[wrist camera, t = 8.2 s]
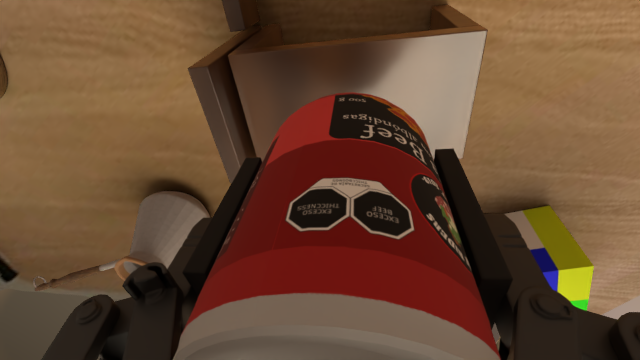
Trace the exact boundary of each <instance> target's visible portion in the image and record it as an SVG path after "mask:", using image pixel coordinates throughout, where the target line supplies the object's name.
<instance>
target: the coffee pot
mask: <svg viewBox="0 0 640 360" xmlns="http://www.w3.org/2000/svg"><path fill="white" fill-rule="evenodd" d="M202 218H210V215H209V213H208V212H207V210H206V209H205V207H204V206H203V204H202V203H201V202H200V201H199V200H198V199H196V198H194V197H193V196H191V195H189V194H186V193H182V192H174V191H162V192H157V193H154V194H151V195H150V196H148V197H146V198H145V199H144V200H143V201H142V202H141V204H140V206H139V211H138V216H137V221H136V226H135V231H134V236H133V241H132V246H131V251H130V255H128V256H126V257H124V258H122V259H119V260H116V261H113V262H110V263H107V264H104V265H100V266H96V267H92V268H88V269H85V270H81V271H77V272H74V273H70V274H68V275H66V276H64V277H62V278H60V279H52V280H51V281H50V282H49V283H47V282H46V280H45V279H44V278H43V277H41V276H37V277H39V278H41V279H43V281H44V282H45V283H43V284H41V285H39V286H36V284H35V279H36V278H37V277H35V278H34V279H33V284H34V287H35V291H44V290H46V289H47V288H49V287H52V288H56V287H57V286H58V285H60V284H66V283H71V282H75V281H77V280H80V279H83V278H85V277H88V276H91V275H93V274H96V273H99V272H101V271H103V270H106V269H110V268H113V267H115V271H116V273H117V274H118V275H119V276H120V277H121V278H122V279H123V280H124V281H125V280H126V278H127V277H128V276H129V275H130V274H131V273H132V272H133V271H135V270H136V269H137V268H139V267H140V266H143V265H145V264H147V263H152V262H159V263H162V264H163V265H164V266H166V268H167V269H168V267H169V265H170V264H171V262H172V261H173V259H174V257H175V256H176V254H177V252H178V251H179V249H180V247H182V244H183V242H184V241H185V239H186V238H187V236H188V234H189V233H190V231H191V229H192V228H193V226H194V225H195V224H197V223H198V222H199V221H200V220H201V219H202Z"/></svg>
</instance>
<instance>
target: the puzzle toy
mask: <svg viewBox="0 0 640 360" xmlns="http://www.w3.org/2000/svg"><path fill="white" fill-rule="evenodd" d="M505 215H506V216H507V217H508V218H509V219H511V220H512V221H513V222H514V223H515V224H516V226H517V228H518V230H519V231H520V233H521V235H522V238H524V240H525V242H526V244H527V248H529V249H530V251H531V253H532V255H533V256H534V258H535V260H536V262H537V264H538V265H539V267H540V269H541V271H542V273H543V274H544V276H545V278H546V280H547V282H548V283H549V285H550V286H551V288H552V289H553V290H555V291H557V292H559V293H560V294H562V295H563V296H564V297H566V298H567V299H568V300H569V301H570V302H571V303H572V305H573V306H575V307H577V308H580V309H583V310H586V311H587V305H588V299H589V292H590V286H591V280H592V274H593V268H594V266H593V264H592V263H591V262H590V260H589V259H588V257H587V256H586V255H585V253H584V252H583V251H582V249H581V248H580V246H579V245H578V244H577V242H576V241H575V240H574V238H573V237H572V235H571V234H570V233H569V231H568V230H567V229H566V227H565V226H564V224H563V223H562V222H561V220H560V219H559V218H558V216H557V215H556V213H555V212H554V211H553V209H552V208H551V207H550V205H549V206H544V207H538V208H533V209H527V210H522V211H517V212H511V213H506V214H505Z"/></svg>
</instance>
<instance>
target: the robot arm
mask: <svg viewBox="0 0 640 360" xmlns="http://www.w3.org/2000/svg"><path fill="white" fill-rule="evenodd" d="M6 87H7V75H6V70H5V67H4V64H3V61H2V59H1V57H0V98H1V97H2V96H3V95H4V93H5V91H6ZM434 163H435V166H436V169H437V172H438V175H439V178H440V181H441V184H442V186H443V189H444V192H445V195H446V198H447V201H448V204H449V207H450V210H451V212H452V215H453V218H454V221H455V224H456V227H457V230H458V233H459V236H460V238H461V241H462V244H463V247H464V250H465V253H466V256H467V259H468V262H469V264H470V267H471V270H472V273H473V276H474V279H475V282H476V285H477V288H478V290H479V293H480V296H481V299H482V302H483V305H484V308H485V311H486V314H487V316H488V319H489V322H490V326H491V330H492V328H493V325H494V323H496V326H497V329H498V332H499V335H500V337H499V339H498V341H497V343H496V346H497V349H498V352H499V355H500V358H501V360H640V312H629V313H626V314H624V315H622V316H621V317H620V318H619V319H618V320H617V319H613V318H609V317H606V316H603V315H599V314H596V313H592V312H589V311H586V310H583V309H580V308H577V307H575V306H573V305H572V303H571V302H570V301H569V300H568V299H567V298H566V297H564V296H563V295H562V294H560V293H559V292H557V291H555V290H553V289H552V288H551V286H550V285H549V283H548V282H547V280H546V278H545V276H544V274H543V273H542V271H541V269H540V267H539V265H538V264H537V262H536V260H535V258H534V256H533V255H532V253H531V251H530V249H529V248H527V244H526V242H525V240H524V238H522V235H521V233H520V231H519V230H518V228H517V226H516V224H515V223H514V222H513V221H512V220H511V219H509V218H508V217H507V216H506V215H505V214H504V213H483V212H482V210H481V208H480V205H479V203H478V201H477V199H476V197H475V194H474V192H473V190H472V188H471V186H470V183H469V181H468V179H467V177H466V175H465V173H464V170H463V168H462V166H461V164H460V162H459V159H458V157H457V155H456V153H455V151H454V148H453V149H435V155H434ZM261 164H262V160H261V157H256V158H246V159H245V160H244V162H243V164H242V166H241V168H240V169H239V171H238V173H237V175H236V177H235V178H234V180H233V182H232V184H231V186H230V187H229V189H228V191H227V193H226V194H225V196H224V198H223V200H222V202H221V203H220V205H219V207H218V209H217V211H216V212H215V214H214V216H213V217H210V218H202V219H201V220H200V221H199V222H198V223H197V224H195V225H194V226H193V228H192V229H191V231H190V233H189V234H188V236H187V238H186V239H185V241H184V242H183V244H182V247H180V249H179V251H178V252H177V254H176V256H175V257H174V259H173V261H172V262H171V264H170V265H169V267H168V269H167V268H166V266H164V265H163V264H162V263H159V262H152V263H147V264H145V265H143V266H140V267H139V268H137V269H136V270H135V271H133V272H132V273H131V274H130V275H129V276H128V277H127V278H126V280H125V282H124V284H123V287H124V289H125V290H126V291H127V292H128V293H129V294H130V295H131V297H130V298H127V299H123V300H120V301H116V302H114V301H113V300H112V299H111V298H110V297H109V296H108V295H97V296H93V297H91V298H89V299H87V300H85V301H84V302H83V303H81V304H80V305H79V306H78V307H76V308H75V309H74V311H73V312H72V313H71V314H70V316H69V317H68V319H67V320H66V322H65V323H64V325H63V326H62V328H61V330H60V331H59V333H58V334H57V336H56V338H55V339H54V341H53V342H52V344H51V345H50V347H49V348H48V350H47V351H46V353H45V355H44V356H43V358H42V360H97V359H98V357H99V356H100V360H173V358H174V356H175V354H176V352H177V349H178V346H179V341H180V336H181V334H182V332H183V330H184V328H185V326H186V324H187V321H188V319H189V317H190V315H191V313H192V311H193V309H194V307H195V304H196V302H197V299H198V296H199V294H200V292H201V290H202V288H203V286H204V283H205V281H206V279H207V277H208V275H209V273H210V271H211V269H212V267H213V265H214V263H215V260H216V258H217V256H218V254H219V252H220V250H221V248H222V246H223V244H224V242H225V240H226V237H227V235H228V233H229V231H230V229H231V227H232V225H233V223H234V221H235V219H236V216H237V214H238V212H239V210H240V208H241V206H242V204H243V202H244V200H245V198H246V196H247V193H248V191H249V189H250V187H251V185H252V183H253V181H254V179H255V177H256V175H257V173H258V170H259V168H260V166H261Z"/></svg>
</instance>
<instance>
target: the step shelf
mask: <svg viewBox="0 0 640 360" xmlns="http://www.w3.org/2000/svg"><path fill="white" fill-rule="evenodd" d="M222 3H223V7H224V10H225V14H226V18H227V21H228V25H229V29H230V32H233V31H242V30H243V31H242V32H240V33H239V34H237V35H236V36H235V37H233V38H232V39H230V40H229V41H227V42H226V43H224V44H223V45H221V46H220V47H218V48H217V49H216V50H214V51H213V52H211V53H210V54H208V55H207V56H205V57H204V58H202V59H201V60H199V61H198V62H197V63H195V64H194V65H192V66H191V67H189V68H188V71H189V73H190V76H191V79H192V81H193V84H194V87H195V89H196V92H197V95H198V97H199V100H200V103H201V106H202V108H203V111H204V114H205V116H206V119H207V122H208V124H209V127H210V130H211V132H212V135H213V138H214V141H215V143H216V146H217V149H218V151H219V154H220V157H221V159H222V162H223V165H224V167H225V170H226V173H227V176H228V178H229V181H230V183H232V182H233V180H234V178H235V177H236V175H237V173H238V171H239V169H240V168H241V166H242V164H243V162H244V160H245V159H246V158H256V157H261V160H262V162H263V160H264V158H265V156H266V154H267V152H268V149H269V147H270V145H271V143H272V141H273V139H274V137H275V135H276V133H277V132H278V130H279V128H280V127H281V125H282V124H283V123H284V122H285V121H286V120H287V119H288V117H289V116H291V115H292V114H293V113H295V112H296V111H297V110H299V109H300V108H301V107H303V106H305V105H306V104H308V103H310V102H312V101H315V100H317V99H319V98H321V97H324V96H328V95H332V94H336V93H349V92H355V93H364V94H370V95H373V96H377V97H380V98H383V99H385V100H387V101H389V102H391V103H392V104H394V105H396V106H398V107H399V108H401V109H403V110H404V111H405V112H406V113H407V114H408V115H409V116H411V117H412V118H413V119H414V120H415V121H416V123H417V124H418V125H419V127H420V128H421V130H422V131H423V133H424V135H425V138H426V141H427V143H428V146H429V149H430V152H431V155H432V158H433V160H434V155H435V149H453V148H454V151H455V153H456V155H457V157H458V159H463V154H464V149H465V144H466V139H467V134H468V129H469V124H470V118H471V113H472V108H473V103H474V98H475V93H476V88H477V82H478V77H479V72H480V67H481V62H482V57H483V52H484V47H485V41H486V36H487V31H488V30H487V29H485V28H484V27H482V26H481V25H479V24H477V23H476V22H474V21H473V20H471V19H470V18H468V17H466V16H465V15H463V14H462V13H460V12H459V11H457V10H456V9H454V8H453V7H451V6H449V5H448V4H446V5H437V6H432V10H431V21H430V30H429V31H420V32H410V33H400V34H390V35H380V36H370V37H360V38H350V39H341V40H331V41H321V42H311V43H301V44H291V45H284V44H283V38H282V32H281V27H280V23H278V24H269V25H266V26H264V27H263V28H262V26H252V25H254V24H255V23H256V22H258V21H259V20H260V16H259V11H258V7H257V2H256V0H222ZM251 26H252V27H251Z"/></svg>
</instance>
